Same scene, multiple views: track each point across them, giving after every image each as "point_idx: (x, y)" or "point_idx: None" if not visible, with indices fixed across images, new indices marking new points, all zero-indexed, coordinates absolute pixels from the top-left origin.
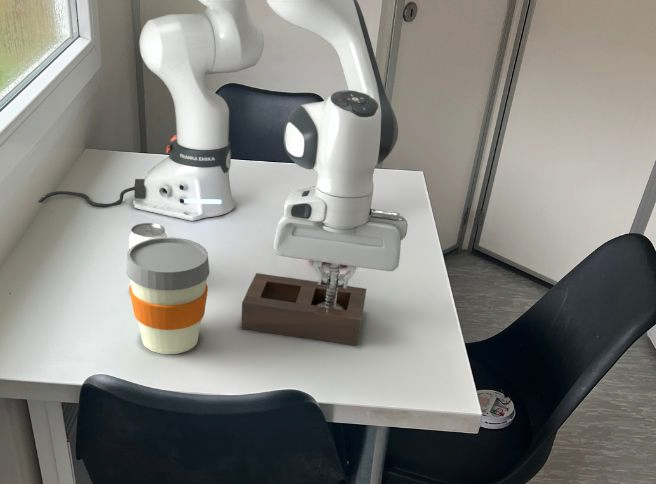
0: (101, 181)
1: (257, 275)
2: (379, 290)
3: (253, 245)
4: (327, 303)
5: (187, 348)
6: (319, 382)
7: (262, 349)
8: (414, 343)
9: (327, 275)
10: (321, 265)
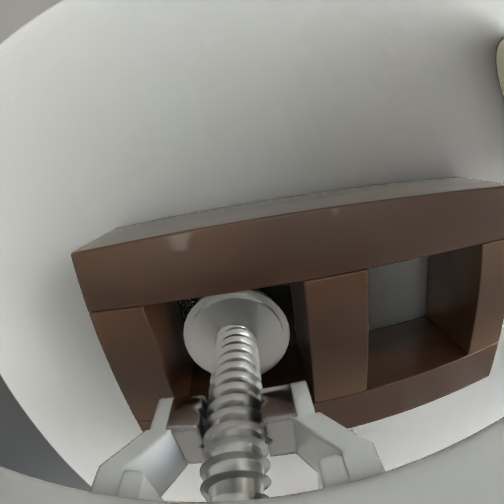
0: None
1: (487, 366)
2: (180, 475)
3: None
4: (243, 338)
5: (500, 47)
6: (167, 3)
7: (376, 87)
8: (18, 307)
9: (269, 436)
10: (320, 467)
